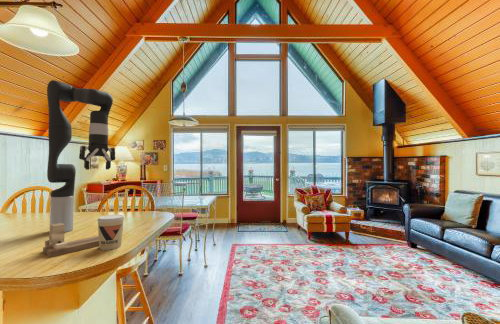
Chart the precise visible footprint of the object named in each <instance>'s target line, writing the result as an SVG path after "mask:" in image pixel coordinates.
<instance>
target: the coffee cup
mask: <svg viewBox="0 0 500 324" xmlns="http://www.w3.org/2000/svg"><path fill="white" fill-rule="evenodd" d="M124 219H125V217H124V215H122V214H107V215H102V216H99V217H98V219H97V223H98V224H97V227H98V228H97V231H98V236H99V246H98V247H99V249H100V250H103V251H105V250H106V251H108V250H114V249H115V250H116V249H118V248H120V247H121V246H122V242H123V241H122V240H123V231H124V221H125V220H124Z"/></svg>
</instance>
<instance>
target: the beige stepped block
mask: <svg viewBox="0 0 500 324" xmlns="http://www.w3.org/2000/svg"><path fill="white" fill-rule="evenodd" d="M48 231H49V233H48V234H49V235H48V236H49V237H48V239H47V240H44V247H46V246H51V247H53V248H55V249H57V250H58V249H62V248H67V243H66V242H67V241H65V233H66V232H65V224H62V223H58V224H51V225H50V224H49V230H48Z"/></svg>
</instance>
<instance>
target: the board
mask: <svg viewBox="0 0 500 324" xmlns="http://www.w3.org/2000/svg"><path fill="white" fill-rule="evenodd" d="M65 242H66V243H67V248H62V249H58V250H57V249H55V248H53V247H51V246H46V247H45V246H43V247H42V254H44V255H47V256H48V257H50V258H53V257H57V256H61V255H64V254H65V255H66V254H70V253H74V252H77V251H82V250H86V249H90V248H94V247H99V235H95V236H91V237H86V238H81V239H76V240H71V241H65Z"/></svg>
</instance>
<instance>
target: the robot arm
mask: <svg viewBox="0 0 500 324" xmlns="http://www.w3.org/2000/svg"><path fill="white" fill-rule="evenodd" d="M46 95H47V105H48V106H47V107H48V127H47V128H48V129H47V130H48V132H47V133H48V135H47V136H48V157H47V158H48V159H47V169H46V170H47V172H46V176H47V180H48V182H49V183H52V184H55V183H56V184H57V183H58V184H59V183H61V184H62V183H65V184H64V185H63V186H61V187H59V188H55V189H53V190H51V191H50V207H49V208H50V210H49V226H50V225H51V224H58V223H62V224H65V233H66V232H67V233H68V232H70V231H73V230H74V210H75V209H74V206H75V205H74V204H75V203H74V201H75V184H76V170H77V169H76V166H75V165H74V164H71V163H58V160H59V157H60V155H61V153H62V152H63V150H65V148H66V147H67V146H68V145H69V143H70V142H71V140H72V138H73V137H72V136H73V133H72V132H73V131H72V129H73V128H72V124H71V122H70V120H69V118H67V115H65V113H64V111H63V110H62V107H61V104H60V101H61V102H64V103H74V102H79V103H82V104H86V105H91V106H97V107H100V108H99V110H92V111H91V112H90V114H89V127H88V145H87V146H86V145H80V147H79V155H78V158H79V160H81V161H83V168H84V169H85V170H90V160H91V159H92V158H93V157H102V158H103V159H104V160H105V170H110V169H111V165H112V164H111V163H112V162H113V161H116V148H115V147H109V146H108V145H109V123H108V122H109V121H108V120H109V116H110V115H109V114H110V112H111V109H112V106H113V104H114V103H113V102H114V101H113V97H112V95H111V93H109V92H106V91H102V90H99V89H96V88H83V87H79V88H77V87H75V86H73V85H71V84H69V83H65V82H61V81H59V80H56V79H52V80H51V79H50V81H48V84H47V86H46ZM87 150H88V153H87V154H86V152H87ZM108 152H109V154H108Z"/></svg>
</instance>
